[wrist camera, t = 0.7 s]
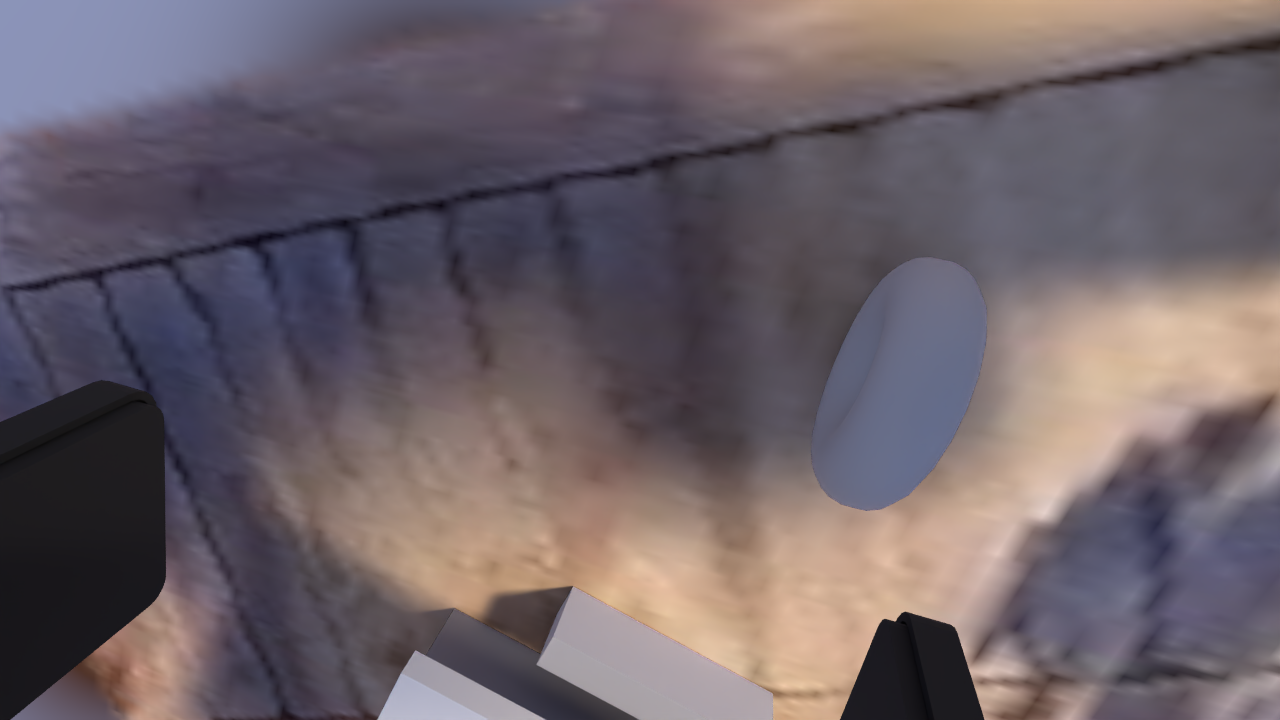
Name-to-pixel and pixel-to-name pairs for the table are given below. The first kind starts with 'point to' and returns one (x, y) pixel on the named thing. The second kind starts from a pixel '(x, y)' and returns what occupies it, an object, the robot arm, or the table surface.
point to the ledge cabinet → (570, 674)
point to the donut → (899, 384)
